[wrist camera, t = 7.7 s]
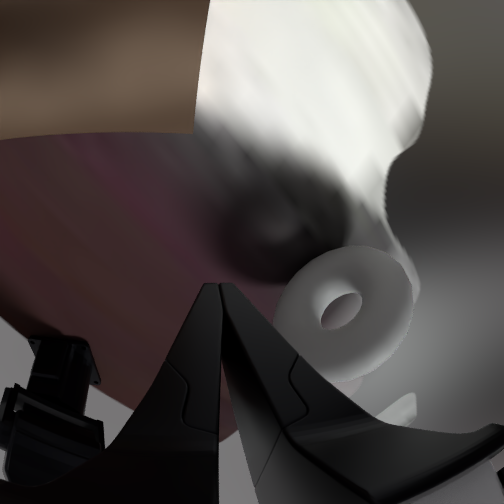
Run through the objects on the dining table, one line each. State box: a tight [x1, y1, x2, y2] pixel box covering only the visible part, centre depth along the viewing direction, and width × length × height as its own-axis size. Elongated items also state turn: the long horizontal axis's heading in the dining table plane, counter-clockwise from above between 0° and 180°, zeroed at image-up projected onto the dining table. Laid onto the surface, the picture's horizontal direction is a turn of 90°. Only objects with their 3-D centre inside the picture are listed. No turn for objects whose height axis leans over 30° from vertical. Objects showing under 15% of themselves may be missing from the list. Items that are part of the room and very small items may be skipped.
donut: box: [273, 246, 414, 382], centre depth 21 cm, size 10×4×10 cm, turn 126°
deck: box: [0, 0, 210, 140], centre depth 11 cm, size 12×14×4 cm
